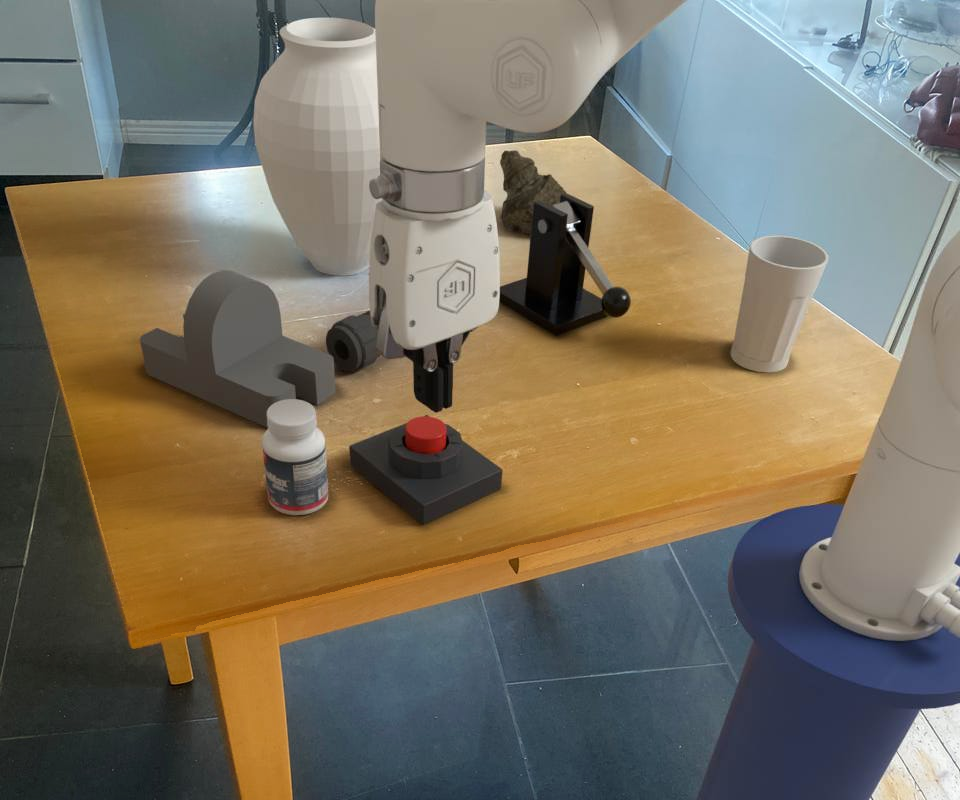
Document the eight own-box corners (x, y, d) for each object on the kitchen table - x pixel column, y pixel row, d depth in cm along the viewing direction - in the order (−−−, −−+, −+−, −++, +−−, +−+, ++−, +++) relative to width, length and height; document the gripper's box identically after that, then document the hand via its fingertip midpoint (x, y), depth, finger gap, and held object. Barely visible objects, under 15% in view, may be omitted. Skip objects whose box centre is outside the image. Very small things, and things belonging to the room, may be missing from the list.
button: (454, 446, 87) (454, 429, 86) (422, 460, 85) (422, 443, 84) (429, 428, 89) (429, 411, 88) (397, 441, 87) (397, 424, 86)
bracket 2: (612, 314, 114) (628, 212, 106) (556, 336, 110) (569, 231, 102) (548, 279, 120) (559, 179, 112) (492, 298, 116) (499, 195, 107)
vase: (442, 274, 119) (448, 41, 102) (314, 309, 111) (298, 62, 94) (363, 222, 129) (357, 1, 111) (241, 251, 121) (213, 17, 103)
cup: (741, 378, 106) (770, 270, 97) (711, 342, 111) (737, 237, 103) (807, 373, 107) (842, 266, 99) (775, 337, 113) (806, 233, 104)
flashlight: (359, 383, 101) (357, 334, 97) (322, 364, 103) (318, 316, 99) (456, 331, 109) (457, 285, 106) (419, 315, 112) (420, 269, 108)
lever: (626, 319, 109) (641, 301, 106) (606, 326, 108) (621, 308, 105) (559, 217, 110) (572, 197, 108) (538, 223, 109) (551, 203, 106)
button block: (501, 489, 89) (504, 452, 86) (423, 525, 85) (423, 488, 82) (426, 434, 95) (427, 397, 92) (349, 465, 90) (348, 428, 88)
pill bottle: (258, 492, 87) (246, 404, 81) (310, 474, 89) (303, 387, 83) (285, 524, 84) (276, 435, 78) (339, 505, 86) (334, 417, 80)
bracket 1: (208, 335, 106) (193, 235, 98) (340, 390, 100) (335, 288, 92) (141, 371, 100) (119, 268, 92) (277, 432, 94) (266, 326, 86)
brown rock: (529, 152, 134) (471, 163, 129) (585, 123, 124) (524, 134, 119) (550, 238, 137) (494, 252, 132) (606, 216, 127) (548, 230, 123)
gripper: (379, 221, 66) (389, 453, 79) (543, 174, 73) (527, 394, 86) (317, 187, 70) (335, 413, 83) (477, 146, 77) (472, 359, 90)
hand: (433, 402), depth 84 cm, fingers closed
